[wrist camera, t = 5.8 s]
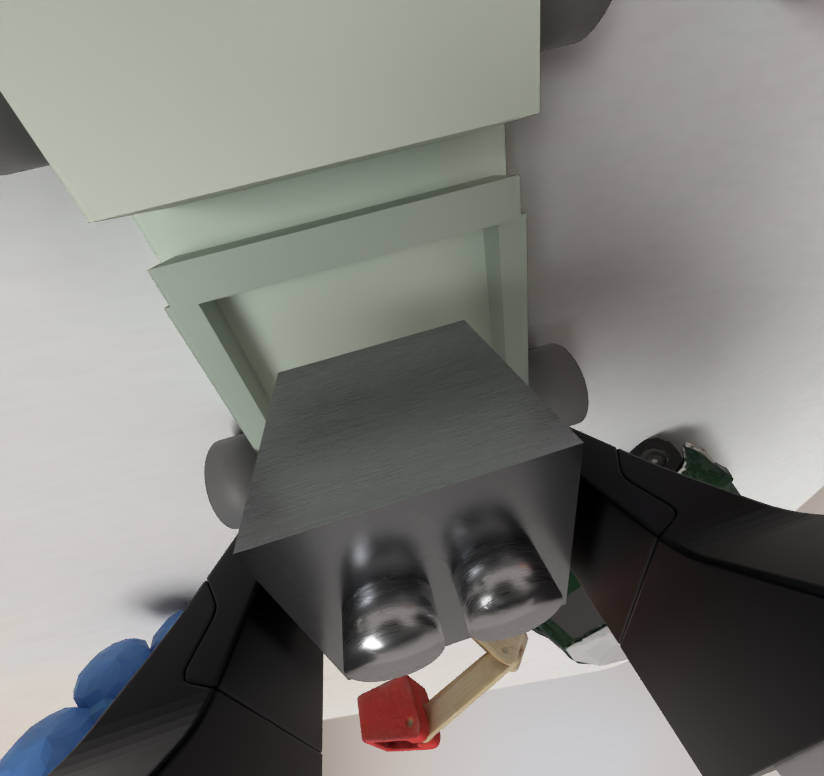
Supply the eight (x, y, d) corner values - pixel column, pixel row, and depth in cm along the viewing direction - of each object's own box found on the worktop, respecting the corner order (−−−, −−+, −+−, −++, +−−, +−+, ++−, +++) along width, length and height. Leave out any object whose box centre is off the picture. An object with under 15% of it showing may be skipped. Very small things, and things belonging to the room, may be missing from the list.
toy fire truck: (538, 509, 25) (638, 666, 17) (368, 581, 25) (387, 770, 17) (531, 481, 23) (640, 643, 15) (348, 560, 23) (359, 760, 15)
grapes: (86, 644, 22) (-112, 1026, 12) (87, 584, 19) (-168, 1015, 9) (272, 639, 27) (239, 917, 17) (295, 589, 24) (271, 886, 14)
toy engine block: (340, 496, 11) (350, 731, 7) (277, 372, 9) (217, 620, 4) (480, 452, 12) (588, 644, 7) (464, 319, 9) (625, 485, 4)
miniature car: (706, 469, 27) (828, 564, 21) (531, 588, 32) (585, 696, 25) (671, 415, 23) (813, 513, 16) (474, 562, 27) (521, 686, 21)
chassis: (-122, -83, 8) (-723, -432, 3) (545, -204, 9) (764, -590, 4) (267, 491, 19) (248, 586, 14) (539, 408, 20) (599, 473, 15)
